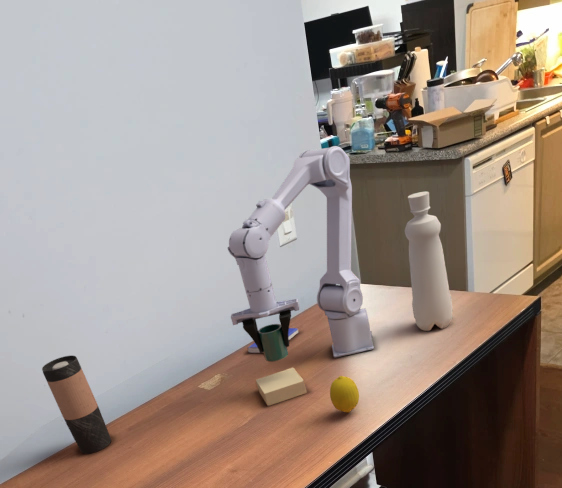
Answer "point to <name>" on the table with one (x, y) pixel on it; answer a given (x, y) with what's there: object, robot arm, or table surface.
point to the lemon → (344, 394)
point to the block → (281, 386)
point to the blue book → (254, 349)
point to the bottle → (427, 266)
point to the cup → (273, 342)
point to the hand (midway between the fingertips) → (274, 348)
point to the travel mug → (77, 404)
